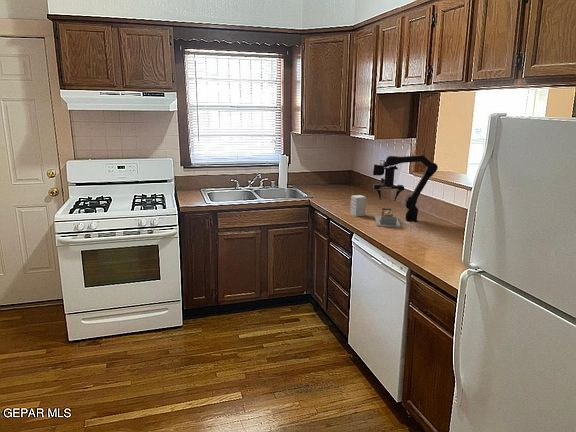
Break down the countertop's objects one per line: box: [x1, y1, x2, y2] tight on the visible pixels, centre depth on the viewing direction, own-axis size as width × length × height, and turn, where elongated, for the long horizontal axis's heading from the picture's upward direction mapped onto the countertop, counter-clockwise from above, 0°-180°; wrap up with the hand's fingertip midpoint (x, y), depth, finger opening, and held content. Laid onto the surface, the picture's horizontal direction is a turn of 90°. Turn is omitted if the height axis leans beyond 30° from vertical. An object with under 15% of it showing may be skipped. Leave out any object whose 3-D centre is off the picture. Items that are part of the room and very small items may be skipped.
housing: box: [384, 211, 394, 217], centre depth 268 cm, size 5×5×7 cm
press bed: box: [374, 215, 401, 228], centre depth 274 cm, size 14×22×6 cm, turn 172°
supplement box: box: [349, 194, 367, 217], centre depth 290 cm, size 7×7×13 cm
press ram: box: [380, 207, 394, 216], centre depth 280 cm, size 7×8×5 cm
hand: (387, 200), depth 280 cm, fingers open, 9 cm apart
